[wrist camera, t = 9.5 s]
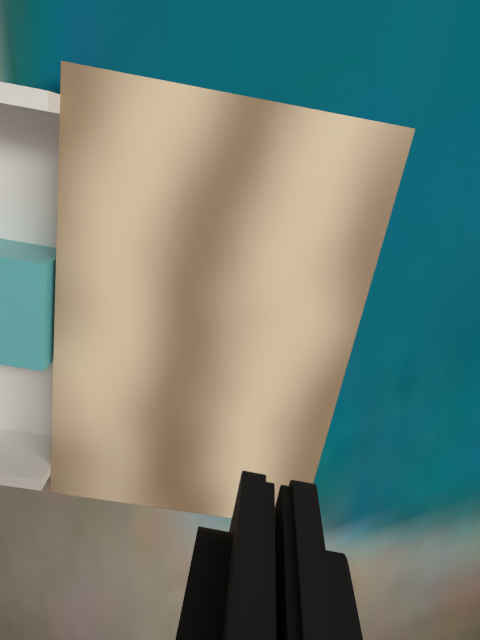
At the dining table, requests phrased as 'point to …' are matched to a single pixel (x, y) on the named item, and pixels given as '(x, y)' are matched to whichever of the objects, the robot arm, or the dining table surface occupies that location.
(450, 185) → the dining table surface
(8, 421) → the tray
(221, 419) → the board
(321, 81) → the dining table surface
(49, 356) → the tile teal
